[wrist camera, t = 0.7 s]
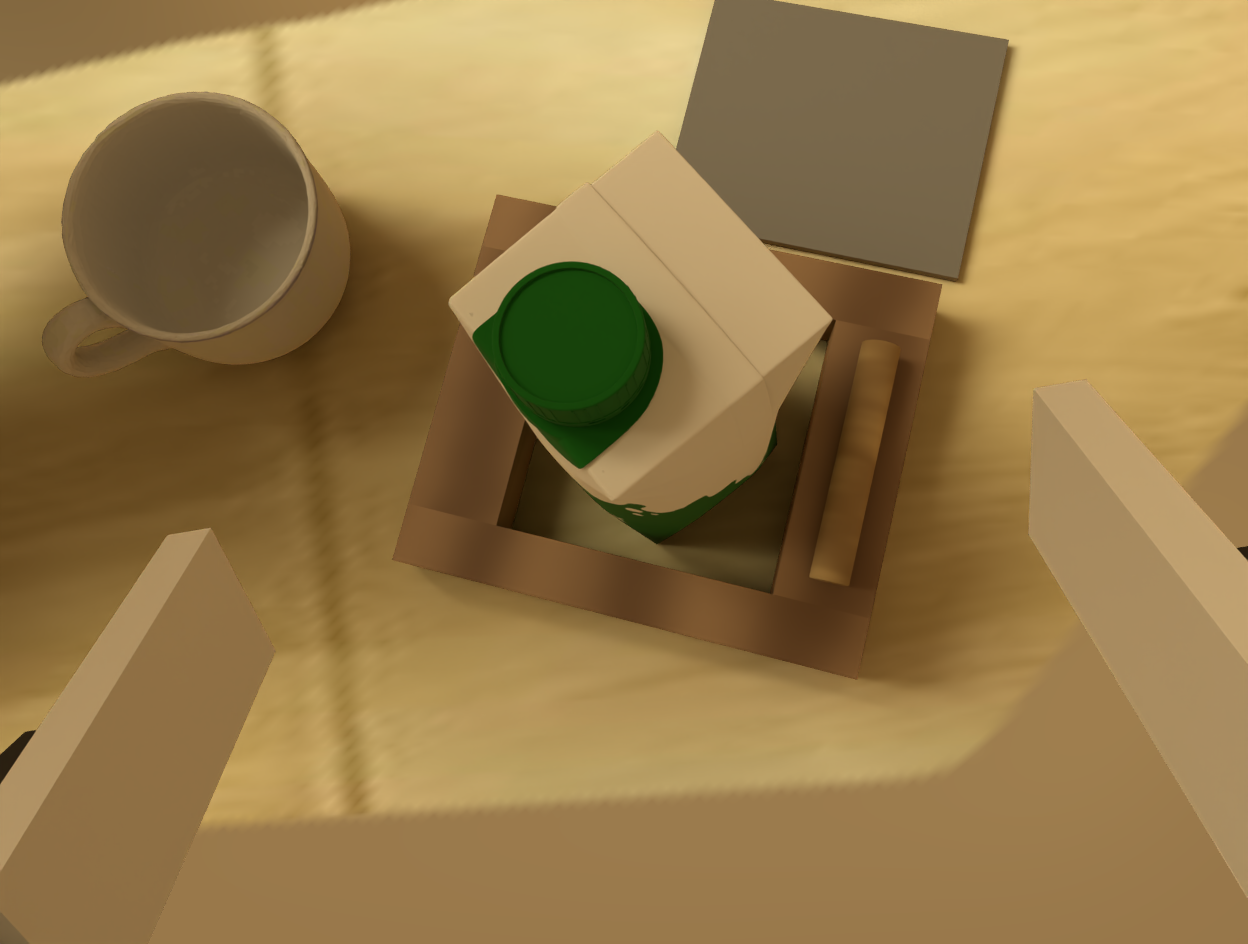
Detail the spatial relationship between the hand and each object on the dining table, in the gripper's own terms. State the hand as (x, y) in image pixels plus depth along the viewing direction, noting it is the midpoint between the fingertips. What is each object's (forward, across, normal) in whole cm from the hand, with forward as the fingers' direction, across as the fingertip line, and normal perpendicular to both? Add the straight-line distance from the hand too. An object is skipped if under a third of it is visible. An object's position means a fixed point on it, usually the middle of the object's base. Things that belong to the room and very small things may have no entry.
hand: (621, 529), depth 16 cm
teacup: (+32, -20, -6) cm, 38 cm away
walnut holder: (+26, 0, -13) cm, 29 cm away
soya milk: (+26, 0, -14) cm, 29 cm away
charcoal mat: (+35, +10, -4) cm, 36 cm away
